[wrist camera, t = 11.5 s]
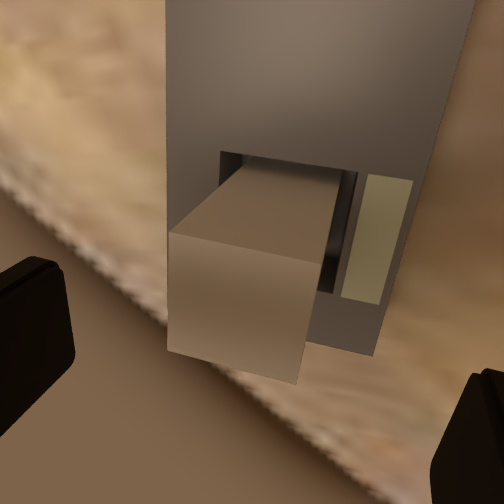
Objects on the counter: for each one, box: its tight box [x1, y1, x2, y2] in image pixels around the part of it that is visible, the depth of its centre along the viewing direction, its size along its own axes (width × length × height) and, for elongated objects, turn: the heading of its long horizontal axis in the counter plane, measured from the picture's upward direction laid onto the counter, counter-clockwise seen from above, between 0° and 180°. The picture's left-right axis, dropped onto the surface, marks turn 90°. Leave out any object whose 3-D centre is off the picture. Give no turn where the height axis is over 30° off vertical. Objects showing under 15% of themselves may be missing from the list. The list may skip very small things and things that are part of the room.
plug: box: [167, 156, 343, 385], centre depth 16 cm, size 4×5×10 cm
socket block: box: [165, 0, 476, 357], centre depth 16 cm, size 10×24×4 cm, turn 175°
